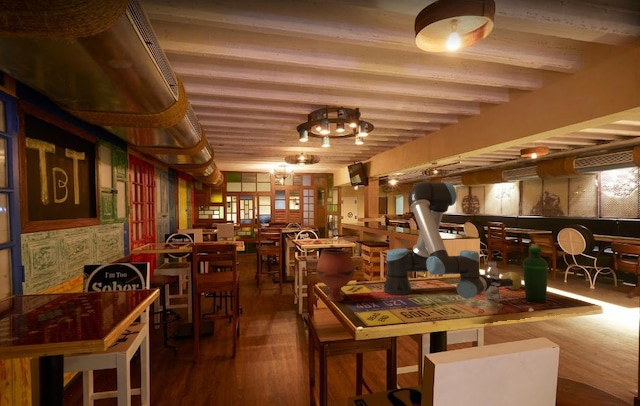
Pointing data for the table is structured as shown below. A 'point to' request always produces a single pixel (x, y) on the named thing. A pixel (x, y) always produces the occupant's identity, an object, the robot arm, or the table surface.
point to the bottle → (535, 275)
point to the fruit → (515, 278)
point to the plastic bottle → (493, 291)
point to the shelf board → (481, 304)
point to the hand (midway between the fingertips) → (494, 276)
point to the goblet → (335, 271)
